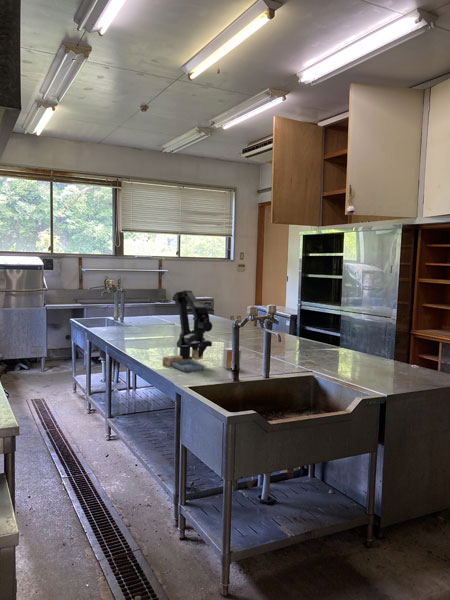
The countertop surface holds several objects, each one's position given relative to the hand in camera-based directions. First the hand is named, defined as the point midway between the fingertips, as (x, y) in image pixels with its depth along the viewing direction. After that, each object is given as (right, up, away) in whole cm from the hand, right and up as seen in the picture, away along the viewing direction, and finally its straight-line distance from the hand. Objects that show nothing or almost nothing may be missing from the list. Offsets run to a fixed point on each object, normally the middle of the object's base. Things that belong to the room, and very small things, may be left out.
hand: (197, 356), depth 260 cm
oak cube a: (0, -1, 0) cm, 1 cm away
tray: (-5, -5, -12) cm, 14 cm away
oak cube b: (-11, -4, -4) cm, 12 cm away
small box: (+19, -6, -5) cm, 20 cm away
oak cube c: (-15, -4, -7) cm, 17 cm away
